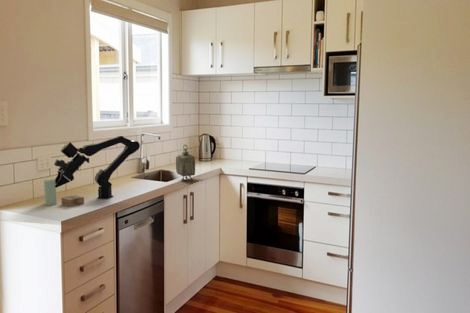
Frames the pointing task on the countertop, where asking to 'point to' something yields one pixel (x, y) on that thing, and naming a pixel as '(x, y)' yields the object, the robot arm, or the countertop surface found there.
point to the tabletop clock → (185, 164)
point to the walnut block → (72, 200)
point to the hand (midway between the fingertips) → (54, 185)
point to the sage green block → (50, 191)
